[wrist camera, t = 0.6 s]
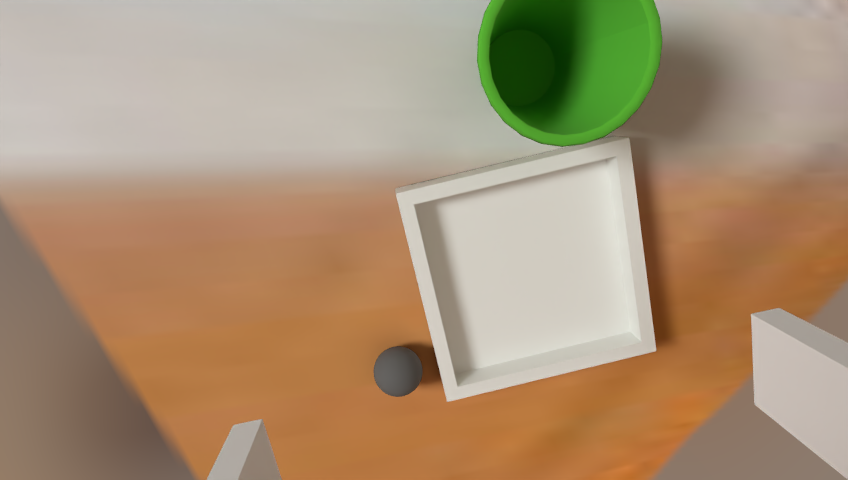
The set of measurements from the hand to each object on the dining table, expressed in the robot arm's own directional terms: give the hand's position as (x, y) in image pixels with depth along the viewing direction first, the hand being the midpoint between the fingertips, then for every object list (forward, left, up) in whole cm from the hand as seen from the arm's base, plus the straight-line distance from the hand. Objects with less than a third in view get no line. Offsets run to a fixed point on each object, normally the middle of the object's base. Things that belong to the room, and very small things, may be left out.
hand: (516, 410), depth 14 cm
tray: (+5, +6, -25) cm, 26 cm away
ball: (+10, -5, -25) cm, 27 cm away
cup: (-9, +8, -25) cm, 27 cm away
